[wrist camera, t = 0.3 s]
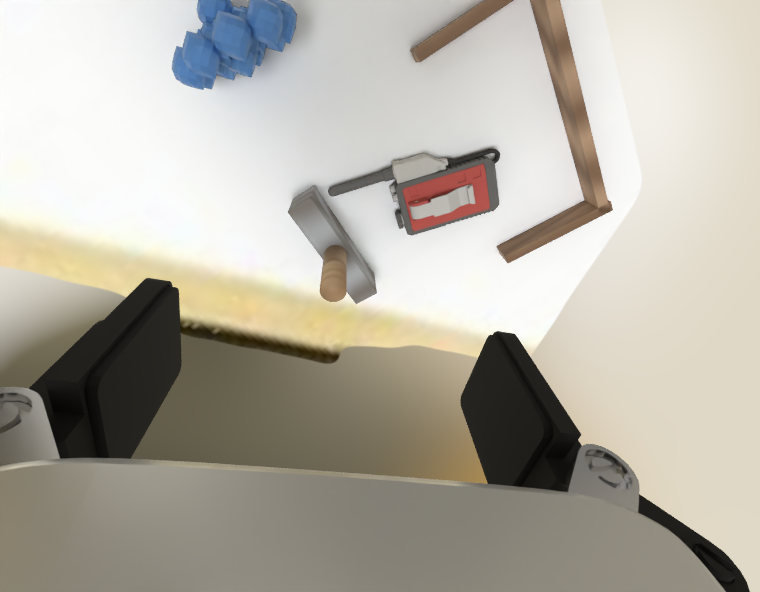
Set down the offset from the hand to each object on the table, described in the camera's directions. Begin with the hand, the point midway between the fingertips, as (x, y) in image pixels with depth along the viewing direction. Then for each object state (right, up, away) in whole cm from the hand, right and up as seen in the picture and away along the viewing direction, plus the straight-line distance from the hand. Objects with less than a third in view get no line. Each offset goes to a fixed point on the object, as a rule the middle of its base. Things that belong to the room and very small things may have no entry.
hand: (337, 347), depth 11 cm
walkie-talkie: (+6, +14, +34) cm, 38 cm away
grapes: (-12, +27, +25) cm, 38 cm away
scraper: (-4, +9, +36) cm, 38 cm away
